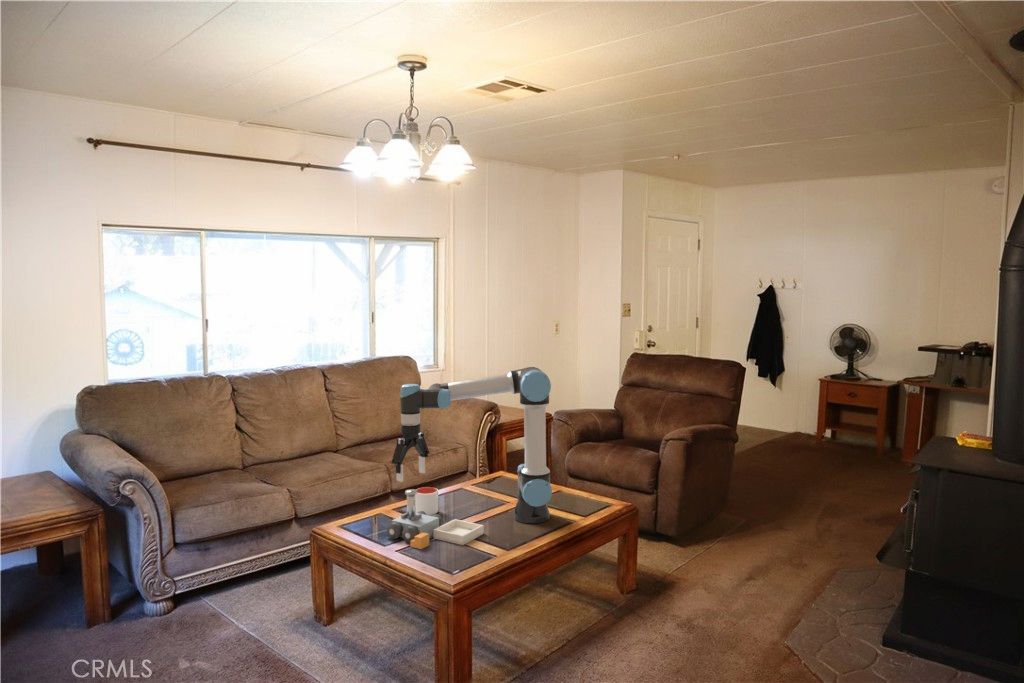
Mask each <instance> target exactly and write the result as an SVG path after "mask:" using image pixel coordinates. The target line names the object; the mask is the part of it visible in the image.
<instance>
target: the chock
mask: <svg viewBox="0 0 1024 683" xmlns="http://www.w3.org/2000/svg"><path fill="white" fill-rule="evenodd" d="M414 538H415V539H413V540H411V541H410V543H409V544H410V547H411V548H415V549H417V550H418V549H419V550H423V549H424V548H427V547H428V546H430V537H429V534H428V533H424V532H423V533H421V534H418V535H416V536H414Z"/></svg>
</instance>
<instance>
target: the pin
mask: <svg viewBox="0 0 1024 683" xmlns="http://www.w3.org/2000/svg"><path fill="white" fill-rule="evenodd" d="M404 494H405V495H406V513H407V519H409V520H412V518H411V517H413V516H415V515H416V496H415V494H417V490H416V489H414V488H412V489H410V488H409V489H406V490H405V491H404Z"/></svg>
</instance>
